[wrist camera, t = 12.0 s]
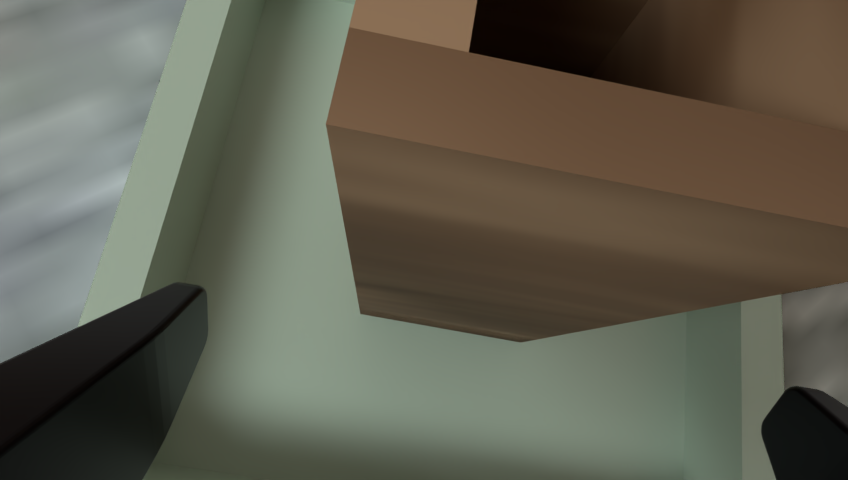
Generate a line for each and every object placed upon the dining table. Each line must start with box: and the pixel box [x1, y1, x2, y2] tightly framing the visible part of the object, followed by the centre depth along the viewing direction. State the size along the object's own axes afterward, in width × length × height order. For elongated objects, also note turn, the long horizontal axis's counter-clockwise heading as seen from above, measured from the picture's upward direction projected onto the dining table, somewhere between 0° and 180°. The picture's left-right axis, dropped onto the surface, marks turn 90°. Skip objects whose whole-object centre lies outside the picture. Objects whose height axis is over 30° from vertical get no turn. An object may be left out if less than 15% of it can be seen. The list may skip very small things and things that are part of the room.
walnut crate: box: [326, 0, 848, 343], centre depth 10 cm, size 6×5×12 cm
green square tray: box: [78, 0, 784, 480], centre depth 16 cm, size 18×18×4 cm
